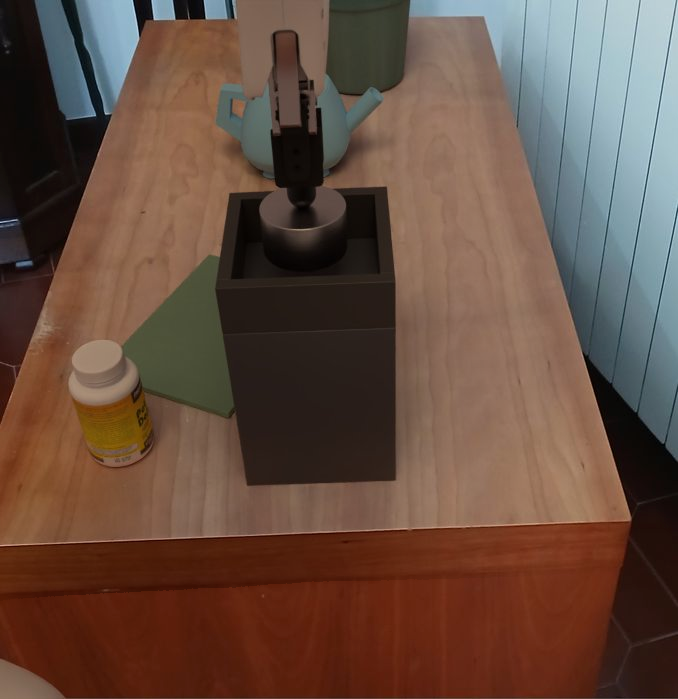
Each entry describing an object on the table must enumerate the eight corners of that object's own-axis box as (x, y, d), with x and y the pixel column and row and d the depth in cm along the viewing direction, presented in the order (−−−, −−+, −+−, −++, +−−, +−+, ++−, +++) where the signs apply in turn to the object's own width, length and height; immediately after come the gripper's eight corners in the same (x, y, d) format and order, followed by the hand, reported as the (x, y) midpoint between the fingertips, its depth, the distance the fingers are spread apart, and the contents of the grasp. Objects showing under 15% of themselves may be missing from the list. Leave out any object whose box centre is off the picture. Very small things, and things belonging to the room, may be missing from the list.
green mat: (228, 418, 80) (228, 413, 80) (97, 376, 85) (96, 371, 84) (328, 288, 93) (327, 283, 93) (209, 258, 98) (209, 254, 98)
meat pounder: (325, 280, 63) (316, 125, 55) (248, 261, 65) (229, 109, 57) (361, 235, 67) (357, 84, 59) (287, 218, 69) (275, 71, 61)
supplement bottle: (158, 463, 76) (134, 372, 70) (90, 476, 76) (60, 385, 69) (153, 416, 81) (131, 327, 74) (89, 428, 80) (60, 339, 73)
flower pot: (284, 67, 133) (274, -48, 123) (385, 43, 138) (384, -69, 128) (331, 113, 122) (325, -9, 111) (439, 86, 127) (443, -34, 116)
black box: (395, 480, 74) (395, 281, 61) (247, 485, 74) (214, 288, 61) (388, 378, 83) (387, 186, 70) (255, 383, 83) (229, 192, 70)
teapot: (212, 198, 107) (198, 104, 99) (229, 130, 120) (218, 41, 112) (384, 195, 106) (384, 100, 98) (383, 126, 119) (383, 37, 111)
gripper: (222, -156, 56) (252, 122, 68) (193, -79, 44) (235, 243, 56) (345, -162, 56) (353, 118, 68) (350, -86, 44) (359, 238, 56)
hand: (300, 172), depth 62 cm, fingers closed on meat pounder
